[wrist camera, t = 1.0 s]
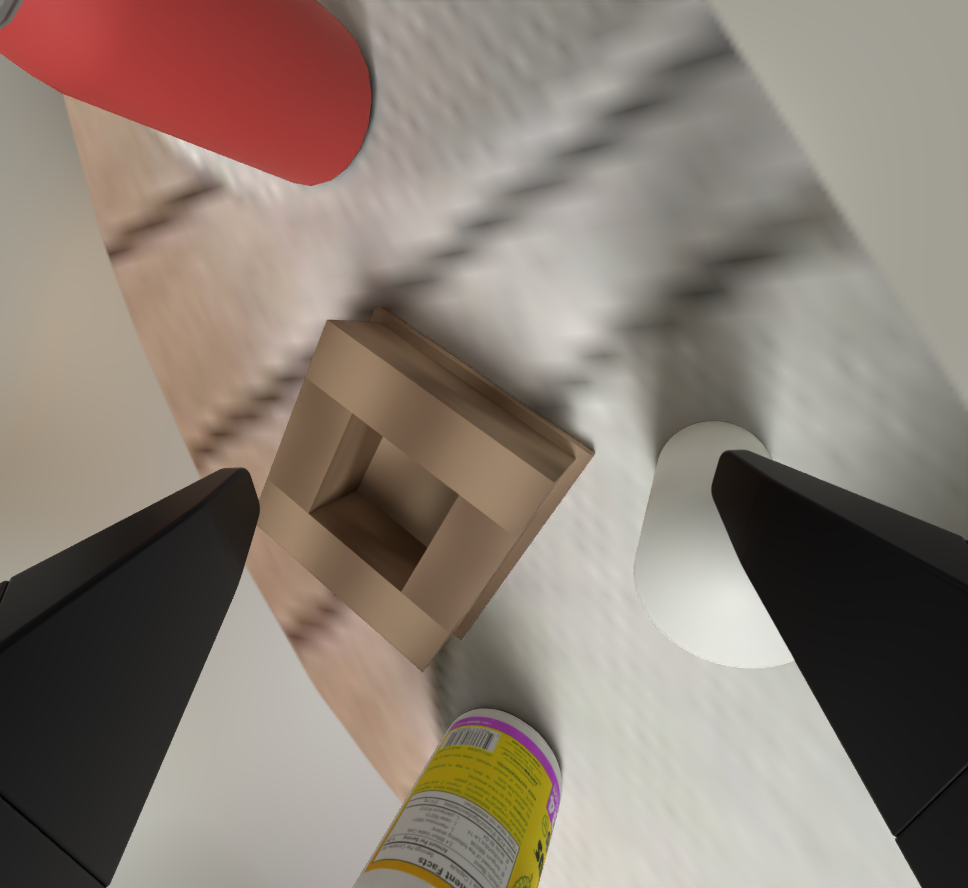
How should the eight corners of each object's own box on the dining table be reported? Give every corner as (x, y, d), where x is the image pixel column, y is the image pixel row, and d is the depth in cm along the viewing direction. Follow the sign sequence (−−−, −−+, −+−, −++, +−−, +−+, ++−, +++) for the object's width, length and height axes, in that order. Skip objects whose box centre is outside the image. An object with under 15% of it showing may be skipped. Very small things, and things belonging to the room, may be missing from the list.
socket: (595, 453, 20) (574, 480, 16) (465, 633, 24) (426, 686, 21) (382, 307, 22) (322, 301, 18) (302, 496, 27) (241, 522, 23)
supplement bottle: (527, 832, 26) (396, 1240, 14) (432, 749, 27) (243, 1056, 16) (591, 765, 23) (494, 1196, 11) (482, 677, 25) (300, 981, 13)
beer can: (261, 36, 22) (-159, -259, 11) (380, 10, 19) (-9, -400, 8) (269, 192, 23) (-89, 71, 13) (379, 186, 21) (53, 29, 10)
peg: (797, 462, 17) (900, 579, 9) (723, 540, 18) (752, 702, 10) (699, 400, 18) (709, 456, 10) (636, 480, 19) (599, 586, 11)
